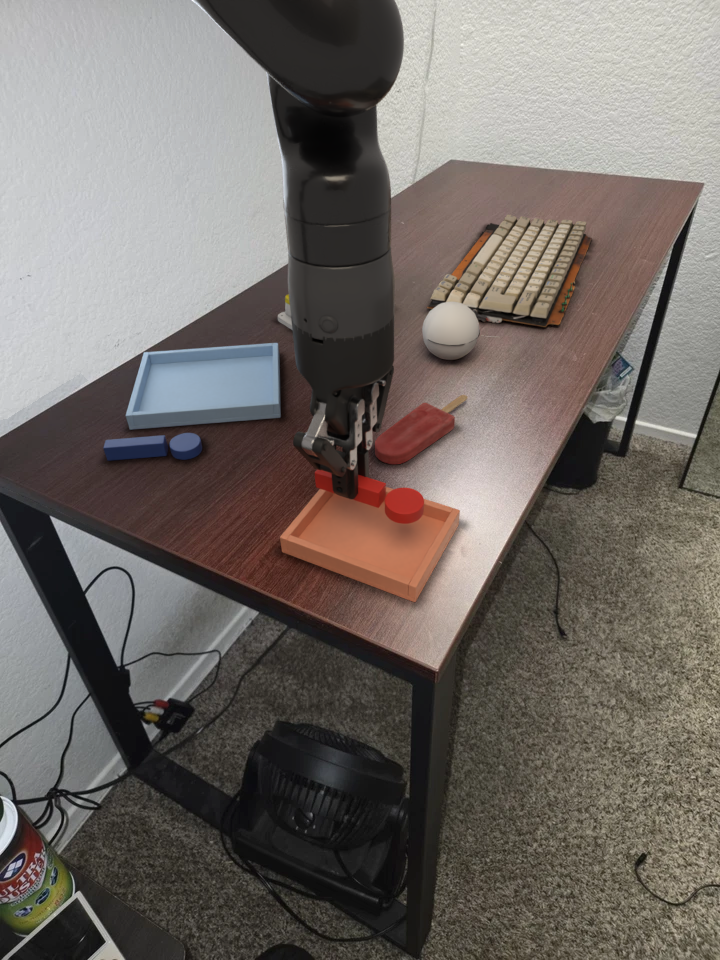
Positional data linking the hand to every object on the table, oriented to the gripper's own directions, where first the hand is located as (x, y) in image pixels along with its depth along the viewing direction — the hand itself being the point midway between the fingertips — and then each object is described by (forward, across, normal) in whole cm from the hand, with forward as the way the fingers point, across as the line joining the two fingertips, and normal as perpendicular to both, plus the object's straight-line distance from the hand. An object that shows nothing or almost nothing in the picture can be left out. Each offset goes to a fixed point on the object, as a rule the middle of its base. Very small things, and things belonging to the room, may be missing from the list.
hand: (351, 487), depth 59 cm
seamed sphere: (+6, -34, -2) cm, 35 cm away
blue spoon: (+6, -1, -25) cm, 26 cm away
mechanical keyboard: (+6, -64, -3) cm, 64 cm away
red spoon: (+1, 0, +2) cm, 2 cm away
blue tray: (+6, -14, -28) cm, 31 cm away
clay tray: (+6, 0, +2) cm, 6 cm away
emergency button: (+6, -38, -23) cm, 45 cm away
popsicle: (+6, -18, 0) cm, 19 cm away
